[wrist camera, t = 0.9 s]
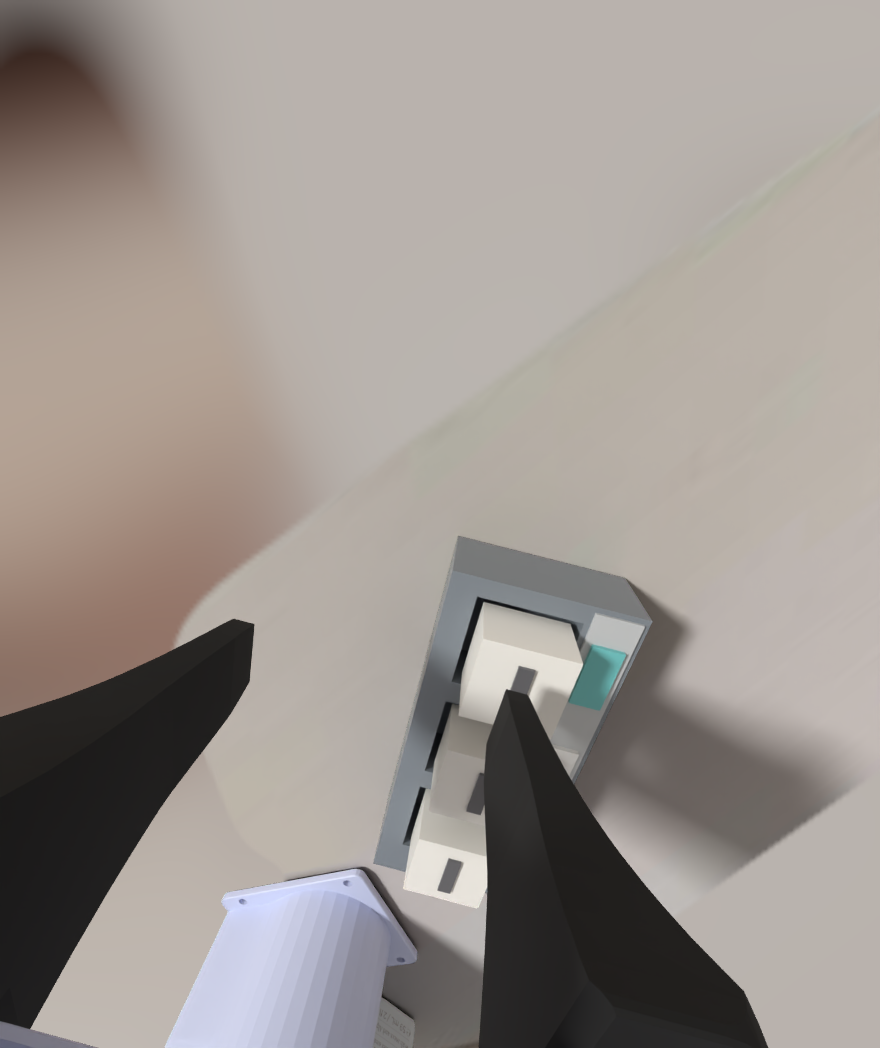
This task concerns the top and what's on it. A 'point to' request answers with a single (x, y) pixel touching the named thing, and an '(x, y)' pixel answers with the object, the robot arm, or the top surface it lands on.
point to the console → (474, 577)
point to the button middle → (460, 769)
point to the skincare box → (393, 1028)
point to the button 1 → (447, 858)
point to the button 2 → (519, 665)
